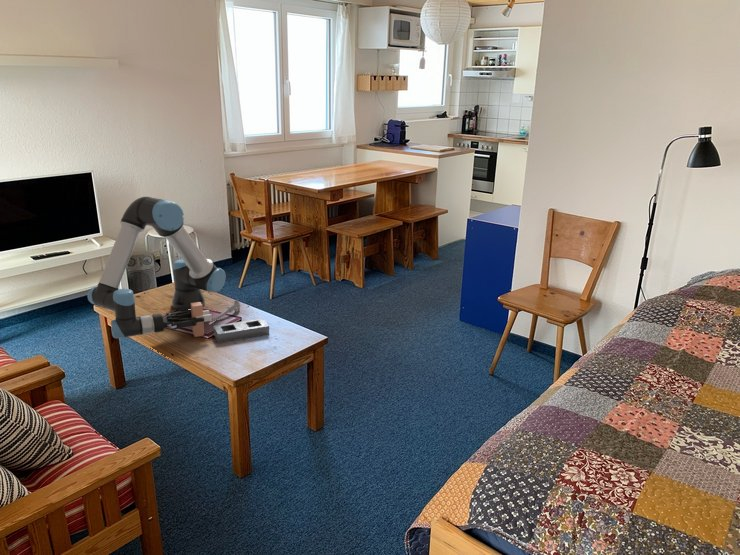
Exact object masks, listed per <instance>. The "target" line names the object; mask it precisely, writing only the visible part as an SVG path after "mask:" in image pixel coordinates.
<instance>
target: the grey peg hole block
mask: <svg viewBox="0 0 740 555" xmlns="http://www.w3.org/2000/svg"><path fill="white" fill-rule="evenodd" d="M212 331H213V332H214V334H213V337H215V340H216V341H217V343H219V344H220V343H226V342H232V341H238V340H243V339H251V338H256V337H262V336H267V335H270V325H269V324H268V323H267V322H266V321H265V319H264V318H257V319H250V320H244V321H243V320H242V321H238V322H237V321H236V322H230V323H224V324H223V323H222V324H217V325H213V326H212Z"/></svg>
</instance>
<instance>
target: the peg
mask: <svg viewBox="0 0 740 555" xmlns="http://www.w3.org/2000/svg"><path fill="white" fill-rule="evenodd" d="M203 307H204V306H203V305H202V304H201V302H196V303H191V310H190V312H191V315H192V318H196V316H202V315H203V311H204V308H203ZM196 324H197V325H196V326H191V328H192V330H191V331H192V334H193V336H194V338H196V337H203V335H204V336H205V326H204V325H205V324H204V322H199V323H196Z"/></svg>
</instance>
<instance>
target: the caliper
mask: <svg viewBox="0 0 740 555" xmlns="http://www.w3.org/2000/svg"><path fill="white" fill-rule="evenodd" d="M240 310H241V304H240V301H239V300H238V299H235V300H234V302H233V303H232V304H230V306H228V307H227V308H226V309H225V310H224V311H222V312H221V313H219V314H218V315H217V316H215V317H214V318H212V321H209V323H210V322H213V321H215V320H217V319H219V318H220V319H221V317H222V318H224V316H225V315H227V314H229V313H232V312H233V311H234V312H235V313H238V312H239V311H240ZM220 319H219V320H220ZM217 321H218V320H217Z"/></svg>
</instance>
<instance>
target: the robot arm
mask: <svg viewBox="0 0 740 555" xmlns="http://www.w3.org/2000/svg"><path fill="white" fill-rule="evenodd" d="M183 216H184V212H183V209H182V208H181V206H180V205H179V204H178V203H176V202H174V201H171V200H169V199H162V198H157V197H151V196H142V197H139V198H136V199H135V200H134V201H132V203H130V204H129V206H128V207H127V208H126V210H125V211H124V213H123V215H122V217H121V219H120V225H121V226H120V228H119V231H118V234H117V237H116V239H115V242H114V244H113V247H112V249H111V251H110V254H109V256H108V258H107V261H106V263H105V266H104V268H103V270H102V273H101V276H100V278H99V281H98V283H97V285H96V286H93V287H91V289H90V290H89V291H88V292H87V300H88V302H90V304H92V305H94V306H96V307H99V308H100V307H101V308H103V309H106V310H109V311H113V312H114V316H115V319H113V320H111V321H110V327H111V328H110V329H111V335H112V338H114V339H123V338H131V337H135V336H142V335H148V334H153V332H154V333H156V334H157V333H162V332H164V330H165V328H166V329H169V328H171V331H174V330H178V329H183V328H189V327H192V326H196V325H197V324H196V323H199V322H210V321H212V319H213V318H212V317H213V315H212V313H210V309H207V310H203V315H202V316H196V318H192V315H191V310H188V309H191V303H196V302H201V304H202V305H203V307H204V306H205V305H206V299H205V297H204V294H203V291H205V292H208V293H212V294H214V293H217V292H219V291H221V289H222V288H223V287H224V285H225V282H226V279H227V278H226V277H227V276H226V272H225V270H224V269H222V268H221V267H217V266H216V265H215V263H214V261H213V260H212V259H210V258H206V256H205V255H204V254H203V252H202V251H201V250H200V248H199V247H198V245H197V244H196V242H195V241H194V239H193V238H192V237H191V235H190V234H189V232H188V231H187V230H186V228H185V227H184V223H185V222H184V219H185V218H184V217H183ZM147 226H148V227H152V228H153V229H154V230H155V231H156V233H157V234H158V236H160V237H161V238H165V239H166V240H167V241H168V243H169V244H170V245H171V246H172V248H173V249H174V251H175V252H176V253H177V255H178V256H179V257H180V258H179V259H177V260H175V261H174V262H173V266H172V271H173V282H174V292H173V297H172V301H171V306H172V308H173V309H174V310H177V311H175V312H174V311H173V312H166V313H165V316H163V314H162V313H155V314H152V315H151V314H149V315H148V314H147V315H139V316H137V314H136V302H135V301H136V300H135V296H134V291H133V290H132V289H129V288H119V286H120V283H121V281H122V279H123V276H124V274H125V272H126V269H127V266H128V264H129V262H130V259H131V257H132V254H133V251H134V249H135V247H136V243H137V241H138V238H139V236H140V234H141V233H142V232H144V231H145V229H146V227H147Z"/></svg>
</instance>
